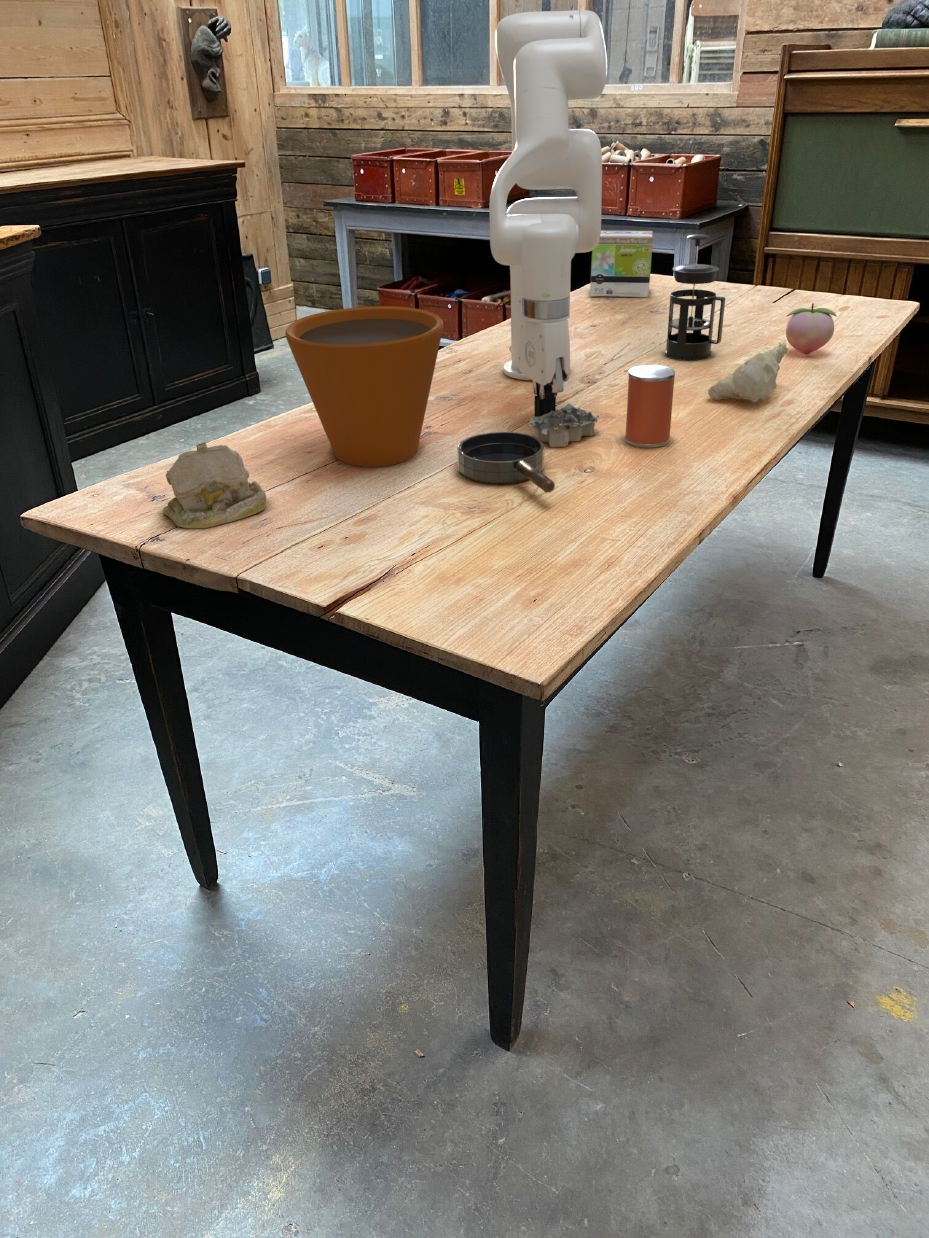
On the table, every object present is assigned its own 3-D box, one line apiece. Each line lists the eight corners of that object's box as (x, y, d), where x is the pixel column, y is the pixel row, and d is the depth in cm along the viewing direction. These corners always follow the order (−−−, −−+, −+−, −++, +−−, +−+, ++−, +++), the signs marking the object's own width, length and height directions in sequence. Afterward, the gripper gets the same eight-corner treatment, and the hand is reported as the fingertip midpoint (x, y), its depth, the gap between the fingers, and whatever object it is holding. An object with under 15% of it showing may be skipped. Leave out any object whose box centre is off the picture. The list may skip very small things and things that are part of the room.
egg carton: (557, 450, 149) (558, 426, 147) (524, 439, 154) (524, 415, 152) (602, 433, 155) (603, 409, 153) (569, 423, 160) (569, 399, 158)
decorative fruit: (824, 348, 193) (832, 298, 188) (833, 359, 186) (842, 307, 181) (777, 348, 194) (784, 298, 189) (785, 359, 187) (792, 308, 182)
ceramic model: (171, 535, 127) (155, 465, 122) (159, 505, 136) (144, 439, 130) (273, 515, 131) (263, 447, 126) (255, 487, 140) (245, 422, 135)
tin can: (616, 437, 153) (620, 369, 147) (653, 430, 155) (658, 362, 150) (640, 451, 147) (644, 380, 142) (678, 443, 150) (684, 373, 144)
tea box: (589, 298, 240) (591, 236, 233) (591, 289, 249) (593, 230, 241) (649, 298, 238) (653, 235, 230) (649, 289, 247) (652, 229, 239)
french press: (654, 357, 192) (662, 237, 180) (671, 346, 199) (681, 230, 187) (709, 364, 186) (722, 241, 175) (725, 352, 193) (738, 233, 181)
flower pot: (286, 439, 158) (268, 318, 147) (418, 416, 165) (410, 299, 155) (325, 489, 139) (308, 353, 128) (472, 460, 146) (467, 330, 136)
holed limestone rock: (727, 424, 162) (805, 369, 156) (703, 390, 162) (779, 333, 156) (734, 423, 176) (805, 373, 170) (711, 391, 176) (782, 340, 170)
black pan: (445, 462, 146) (444, 440, 144) (520, 448, 150) (520, 426, 148) (479, 491, 136) (478, 468, 134) (559, 475, 140) (559, 452, 138)
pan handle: (514, 471, 136) (514, 459, 135) (525, 469, 137) (525, 457, 136) (545, 495, 129) (545, 483, 128) (557, 493, 129) (557, 480, 128)
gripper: (504, 300, 153) (506, 409, 163) (546, 321, 141) (545, 437, 151) (545, 295, 156) (544, 402, 165) (590, 315, 144) (586, 429, 154)
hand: (544, 418), depth 158 cm, fingers closed
